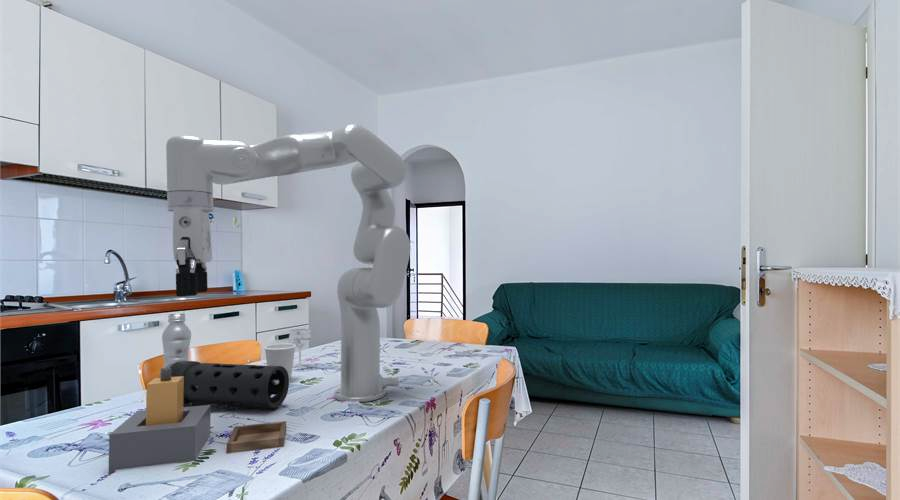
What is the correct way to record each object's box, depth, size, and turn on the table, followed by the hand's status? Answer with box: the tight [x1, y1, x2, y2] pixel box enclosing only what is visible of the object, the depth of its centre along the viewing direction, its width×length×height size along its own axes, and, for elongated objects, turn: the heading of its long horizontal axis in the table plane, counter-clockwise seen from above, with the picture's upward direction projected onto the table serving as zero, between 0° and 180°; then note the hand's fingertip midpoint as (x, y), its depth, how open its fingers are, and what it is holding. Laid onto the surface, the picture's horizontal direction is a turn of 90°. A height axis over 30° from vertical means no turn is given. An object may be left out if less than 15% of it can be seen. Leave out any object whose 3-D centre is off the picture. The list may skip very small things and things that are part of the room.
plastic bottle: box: [161, 313, 192, 368], centre depth 117 cm, size 6×7×20 cm
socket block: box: [108, 405, 212, 474], centre depth 78 cm, size 12×12×6 cm
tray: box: [225, 420, 287, 454], centre depth 83 cm, size 9×9×2 cm
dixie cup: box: [263, 342, 297, 384], centre depth 127 cm, size 8×8×10 cm
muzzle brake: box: [158, 360, 290, 411], centre depth 104 cm, size 10×28×10 cm, turn 78°
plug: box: [145, 367, 184, 426], centre depth 79 cm, size 4×4×12 cm
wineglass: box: [288, 328, 312, 368], centre depth 144 cm, size 7×7×12 cm
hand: (192, 293), depth 86 cm, fingers open, 9 cm apart
